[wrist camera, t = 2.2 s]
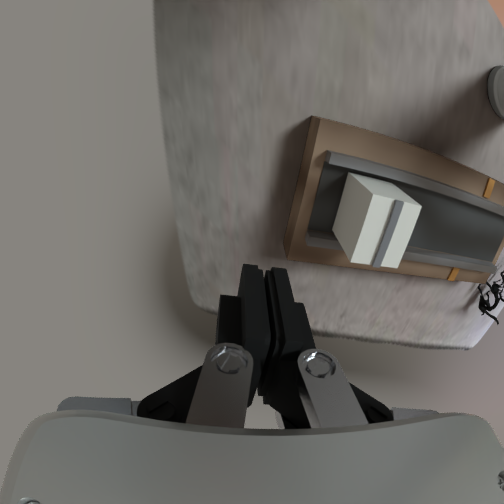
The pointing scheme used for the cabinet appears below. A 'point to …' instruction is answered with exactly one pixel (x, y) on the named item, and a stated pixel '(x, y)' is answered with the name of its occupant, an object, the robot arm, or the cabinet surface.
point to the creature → (486, 302)
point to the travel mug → (497, 90)
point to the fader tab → (374, 221)
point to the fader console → (410, 182)
